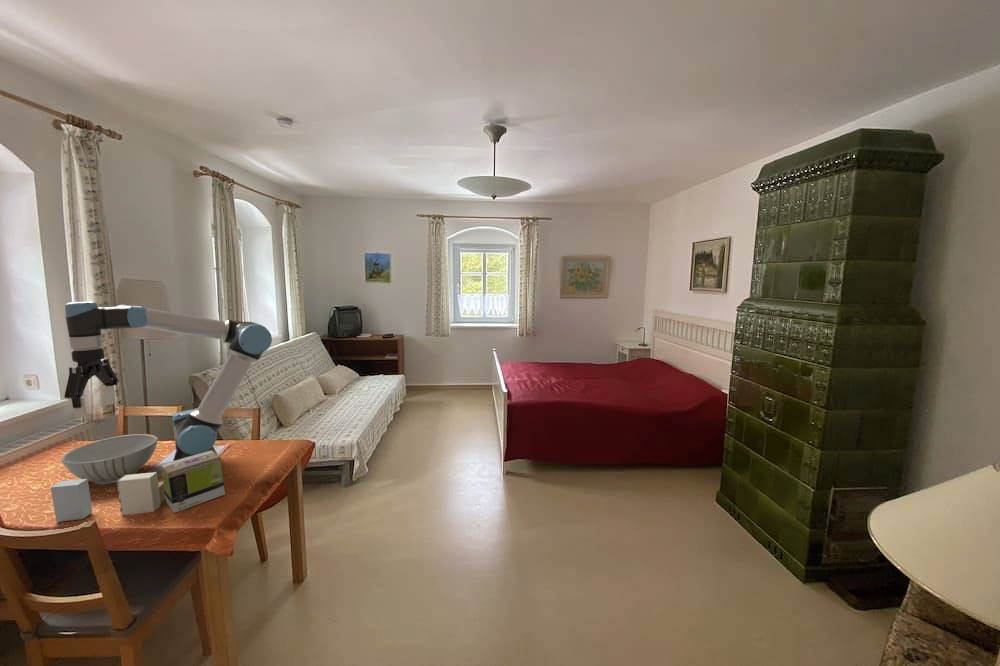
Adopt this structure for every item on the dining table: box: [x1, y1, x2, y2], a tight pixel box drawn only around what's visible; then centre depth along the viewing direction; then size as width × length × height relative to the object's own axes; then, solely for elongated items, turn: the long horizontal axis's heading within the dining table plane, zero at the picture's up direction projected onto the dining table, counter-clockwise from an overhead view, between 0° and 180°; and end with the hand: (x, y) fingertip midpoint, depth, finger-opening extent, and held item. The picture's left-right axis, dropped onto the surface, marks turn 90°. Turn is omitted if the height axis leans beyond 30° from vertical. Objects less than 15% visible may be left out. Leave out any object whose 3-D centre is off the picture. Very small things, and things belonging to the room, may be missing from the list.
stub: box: [50, 478, 93, 523], centre depth 128 cm, size 4×7×12 cm, turn 104°
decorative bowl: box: [60, 433, 159, 485], centre depth 155 cm, size 27×27×12 cm
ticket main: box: [116, 471, 166, 516], centre depth 135 cm, size 9×9×12 cm
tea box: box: [160, 450, 226, 514], centre depth 139 cm, size 15×10×15 cm, turn 141°
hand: (96, 410), depth 135 cm, fingers open, 13 cm apart
